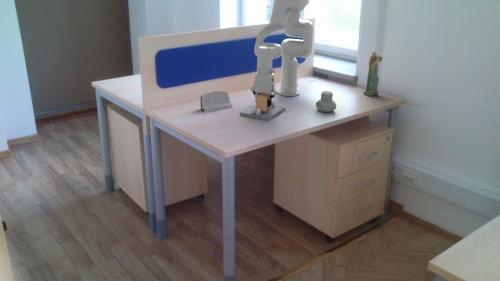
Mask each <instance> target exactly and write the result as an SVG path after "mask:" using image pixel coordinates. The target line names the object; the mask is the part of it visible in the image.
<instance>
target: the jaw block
mask: <svg viewBox="0 0 500 281" xmlns="http://www.w3.org/2000/svg"><path fill="white" fill-rule="evenodd" d="M267 100H268V96H267V94H264V93H259V94H258V96H257V97H255V104H256V111H257V108H260V109H261V111H266V110H267V109H268V107H267Z"/></svg>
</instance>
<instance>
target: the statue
mask: <svg viewBox="0 0 500 281" xmlns="http://www.w3.org/2000/svg"><path fill="white" fill-rule="evenodd" d="M382 61H383V56H381V55H377V53H376V52H374V51H373V52H372V53H371V55H370V56H369V61H368V71H367V77H366V86H365V90H363V94H364V95H365V96H367V97H371V96H378V95H379V91H378V85H379V81H380V78H379V74H378V73H379V63H380V62H382Z"/></svg>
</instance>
